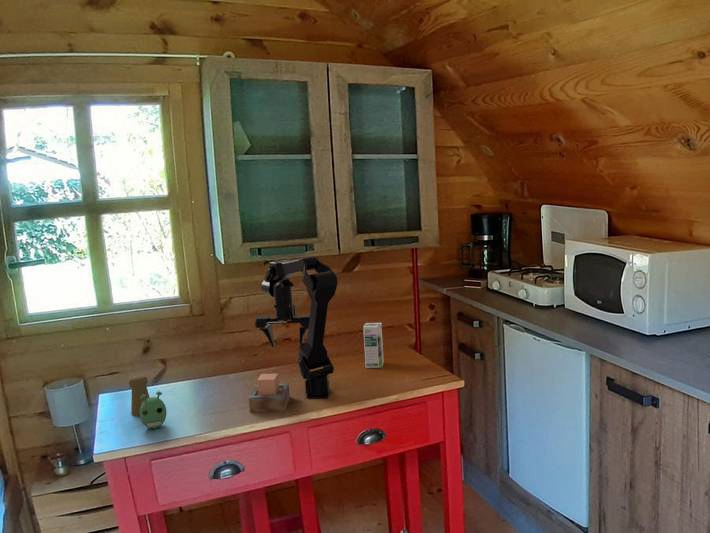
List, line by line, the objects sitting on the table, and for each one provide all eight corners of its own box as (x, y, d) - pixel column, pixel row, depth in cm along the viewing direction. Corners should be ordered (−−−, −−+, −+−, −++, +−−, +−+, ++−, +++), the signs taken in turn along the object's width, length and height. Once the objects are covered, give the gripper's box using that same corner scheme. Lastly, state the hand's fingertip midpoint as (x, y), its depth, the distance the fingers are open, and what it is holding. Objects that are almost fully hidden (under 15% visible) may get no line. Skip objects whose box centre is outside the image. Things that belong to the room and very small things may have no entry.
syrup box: (365, 368, 201) (362, 326, 199) (367, 362, 207) (365, 322, 204) (382, 368, 200) (379, 326, 198) (384, 362, 206) (381, 321, 203)
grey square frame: (290, 398, 180) (288, 383, 179) (284, 412, 170) (283, 396, 169) (257, 399, 181) (255, 384, 180) (250, 413, 171) (248, 397, 170)
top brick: (279, 389, 177) (277, 373, 176) (275, 396, 172) (274, 379, 171) (262, 390, 177) (261, 373, 176) (258, 396, 172) (257, 380, 172)
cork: (140, 417, 172) (135, 381, 170) (126, 413, 175) (122, 378, 173) (157, 409, 177) (152, 374, 175) (143, 406, 180) (139, 371, 178)
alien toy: (140, 435, 160) (136, 400, 158) (142, 424, 167) (137, 390, 165) (168, 431, 162) (163, 396, 160) (168, 420, 169) (164, 386, 167)
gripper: (316, 292, 198) (319, 338, 201) (261, 295, 200) (265, 339, 203) (310, 300, 187) (314, 348, 190) (252, 302, 189) (256, 350, 192)
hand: (287, 346), depth 194 cm, fingers open, 9 cm apart
